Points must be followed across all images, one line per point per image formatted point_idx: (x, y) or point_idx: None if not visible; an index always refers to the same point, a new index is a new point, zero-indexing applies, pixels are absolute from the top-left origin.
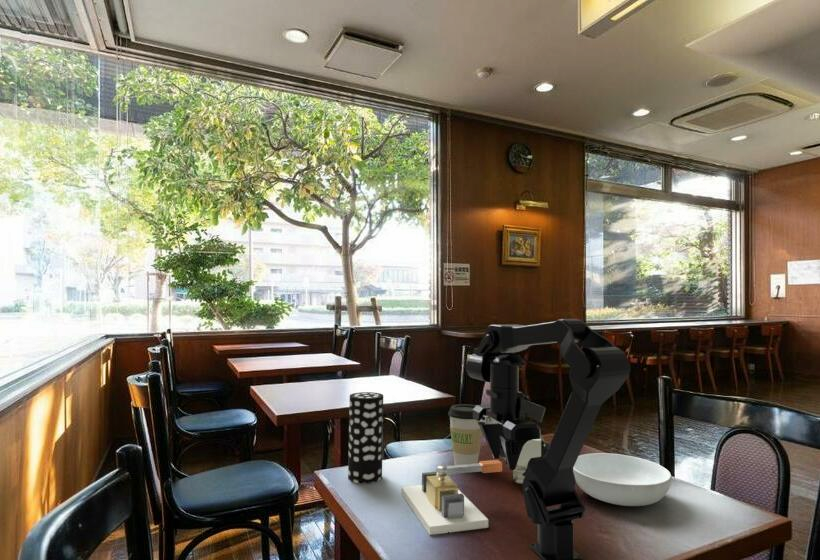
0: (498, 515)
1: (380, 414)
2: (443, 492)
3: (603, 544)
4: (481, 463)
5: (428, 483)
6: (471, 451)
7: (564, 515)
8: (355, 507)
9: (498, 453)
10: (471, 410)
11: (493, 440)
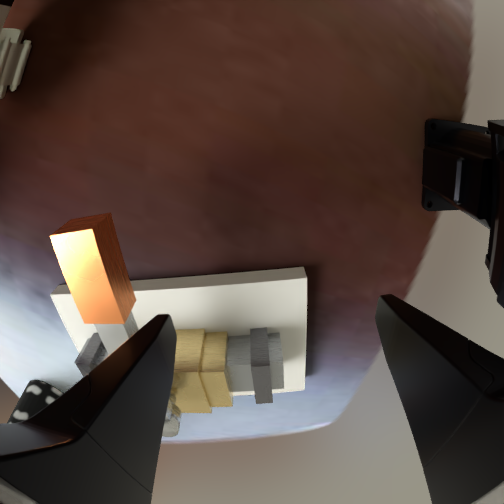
0: (232, 212)
1: None
2: (230, 396)
3: (441, 26)
4: (106, 322)
5: None
6: None
7: None
8: (175, 436)
9: (164, 338)
10: None
11: (142, 432)
